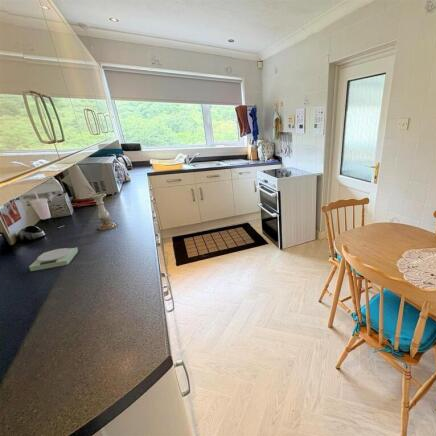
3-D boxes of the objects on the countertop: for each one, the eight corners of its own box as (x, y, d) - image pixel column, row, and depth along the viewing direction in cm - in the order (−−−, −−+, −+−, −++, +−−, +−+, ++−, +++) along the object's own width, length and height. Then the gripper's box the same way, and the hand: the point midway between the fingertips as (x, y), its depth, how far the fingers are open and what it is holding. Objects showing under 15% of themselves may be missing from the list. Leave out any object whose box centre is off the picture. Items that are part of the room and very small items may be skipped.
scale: (30, 271, 96) (27, 265, 95) (45, 256, 107) (43, 251, 106) (67, 264, 101) (65, 259, 100) (78, 251, 112) (76, 245, 111)
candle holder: (110, 223, 143) (100, 192, 136) (120, 225, 140) (110, 193, 133) (95, 229, 136) (83, 195, 128) (104, 231, 133) (93, 197, 125)
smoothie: (55, 214, 120) (44, 188, 115) (53, 218, 116) (42, 191, 110) (37, 217, 116) (25, 190, 111) (35, 221, 112) (23, 193, 106)
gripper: (-5, 180, 105) (5, 205, 103) (56, 174, 120) (66, 195, 118) (-1, 188, 110) (9, 212, 107) (58, 181, 124) (67, 202, 122)
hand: (39, 203), depth 113 cm, fingers closed on smoothie, 6 cm apart
